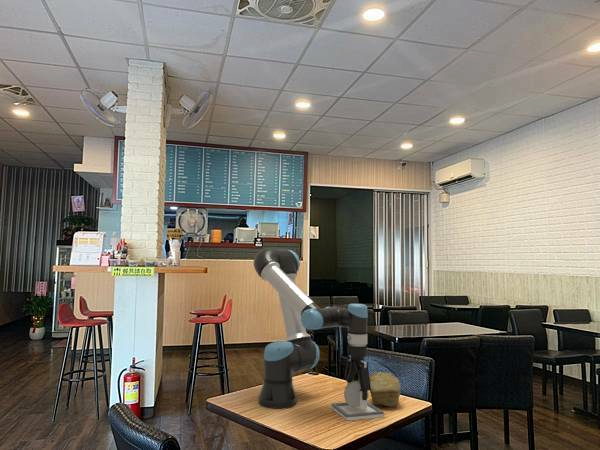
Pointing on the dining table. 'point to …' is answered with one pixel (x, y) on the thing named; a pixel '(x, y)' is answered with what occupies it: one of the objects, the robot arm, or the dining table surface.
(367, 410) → the plate
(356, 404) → the grey rounded piece
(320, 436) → the dining table surface
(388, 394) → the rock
